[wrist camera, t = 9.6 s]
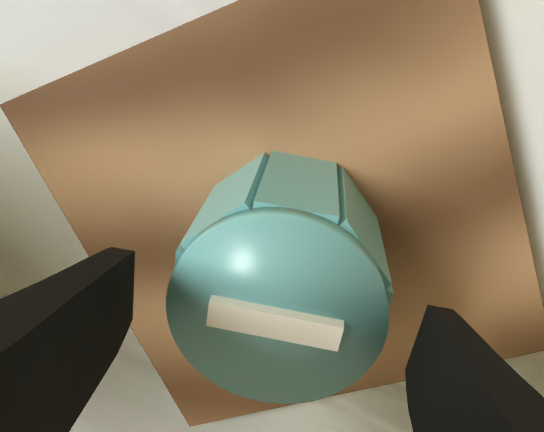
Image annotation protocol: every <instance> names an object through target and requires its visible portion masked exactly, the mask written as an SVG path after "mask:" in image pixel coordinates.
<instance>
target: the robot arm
mask: <svg viewBox="0 0 544 432" xmlns="http://www.w3.org/2000/svg"><path fill="white" fill-rule="evenodd" d="M134 270H135V251H131V250H126V249H121V248H115V247H109V248H107V249H105V250H102V251H100V252H98V253H96V254H94V255H92V256H90V257H88V258H86V259H84V260H82V261H80V262H78V263H76V264H75V265H73V266H71V267H69V268H67V269H65V270H62V271H60V272H58V273H56V274H54V275H52V276H50V277H48V278H46V279H44V280H42V281H40V282H38V283H35V284H33V285H31V286H29V287H26V288H24V289H22V290H20V291H17V292H15V293H13V294H11V295H8V296H6V297H4V298H1V299H0V432H69V431H70V429H71V428H72V426H73V425H74V423H75V421H76V420H77V418H78V417H79V415H80V413H81V412H82V410H83V409H84V407H85V405H86V404H87V402H88V401H89V399H90V397H91V396H92V394H93V393H94V391H95V389H96V388H97V386H98V384H99V383H100V381H101V380H102V378H103V376H104V375H105V373H106V372H107V370H108V368H109V367H110V365H111V363H112V362H113V360H114V358H115V357H116V355H117V353H118V351H119V349H120V347H121V345H122V342H123V340H124V338H125V336H126V334H127V331H128V329H129V327H130V324H131V322H132V320H133V298H134ZM405 377H406V391H407V401H408V409H409V414H410V419H411V423H412V428H413V432H544V397H543V396H542V395H540V394H539V393H538V392H537V391H536V390H535V389H534V388H533V387H532V386H530V385H529V384H528V383H527V382H526V381H525V380H524V379H523V378H522V377H521V376H520V375H519V374H518V373H517V372H516V371H514V370H513V369H512V368H511V367H510V366H509V365H508V364H507V363H506V362H505V361H504V360H503V359H502V358H501V357H500V356H499V355H498V354H497V353H496V352H495V351H494V350H493V349H492V348H491V347H490V346H489V345H488V343H487V342H486V341H485V340H484V339H483V338H482V337H481V336H480V335H479V334H478V333H477V332H476V331H475V330H474V329H473V328H472V327H471V326H470V325H469V324H468V323H467V322H466V321H465V320H464V319H463V318H462V317H461V316H460V315H459V314H458V313H457V312H455V311H454V310H453V309H449V308H443V307H438V306H432V305H427V308H426V311H425V313H424V316H423V319H422V322H421V325H420V328H419V331H418V334H417V336H416V339H415V342H414V345H413V348H412V351H411V354H410V357H409V360H408V362H407V365H406V368H405Z"/></svg>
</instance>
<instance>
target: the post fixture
mask: <svg viewBox="0 0 544 432" xmlns="http://www.w3.org/2000/svg"><path fill="white" fill-rule="evenodd" d="M0 107H1V108H2V110H3V112H4V113H5V115H6V117H7V118H8V120H9V122H10V124H11V125H12V127H13V129H14V130H15V132H16V134H17V135H18V137H19V139H20V140H21V142H22V144H23V145H24V147H25V149H26V151H27V152H28V154H29V156H30V157H31V159H32V161H33V162H34V164H35V166H36V167H37V169H38V171H39V173H40V174H41V176H42V178H43V179H44V181H45V183H46V184H47V186H48V188H49V189H50V191H51V193H52V195H53V196H54V198H55V200H56V201H57V203H58V205H59V206H60V208H61V210H62V211H63V213H64V215H65V216H66V218H67V220H68V222H69V223H70V225H71V227H72V228H73V230H74V232H75V233H76V235H77V237H78V238H79V240H80V242H81V244H82V245H83V247H84V249H85V250H86V252H87V254H88V255H89V257H90V256H92V255H94V254H96V253H98V252H100V251H102V250H105V249H107V248H109V247H115V248H121V249H126V250H131V251H135V270H134V298H133V320H132V322H131V324H130V326H131V328H132V330H133V331H134V333H135V335H136V336H137V338H138V340H139V342H140V343H141V345H142V347H143V348H144V350H145V352H146V353H147V355H148V357H149V358H150V360H151V362H152V364H153V365H154V367H155V369H156V370H157V372H158V374H159V375H160V377H161V379H162V380H163V382H164V384H165V385H166V387H167V389H168V391H169V392H170V394H171V396H172V397H173V399H174V401H175V402H176V404H177V406H178V407H179V409H180V411H181V413H182V414H183V416H184V418H185V419H186V421H187V423H188V424H189V426H194V425H199V424H204V423H208V422H213V421H218V420H222V419H227V418H232V417H236V416H241V415H246V414H250V413H255V412H260V411H264V410H269V409H274V408H278V407H283V406H288V405H292V404H277V403H267V402H260V401H256V400H252V399H248V398H244V397H242V396H239V395H236V394H233V393H231V392H229V391H227V390H225V389H223V388H221V387H219V386H218V385H216V384H214V383H213V382H211V381H210V380H208V379H207V378H206V377H204V376H203V375H202V374H200V373H199V372H198V371H197V370H196V369H195V368H194V367H193V366H192V365H191V364H190V363H189V362H188V360H187V359H186V358H185V357H184V355H183V354H182V353H181V351H180V349H179V348H178V346H177V345H176V343H175V340H174V338H173V336H172V334H171V331H170V328H169V325H168V321H167V314H166V294H167V288H168V284H169V281H170V278H171V275H172V273H173V271H174V267H175V255H176V250H177V248H178V246H179V245H180V243H181V241H182V240H183V238H184V236H185V235H186V233H187V231H188V229H189V228H190V226H191V224H192V223H193V221H194V219H195V218H196V216H197V214H198V213H199V211H200V209H201V208H202V206H203V204H204V203H205V201H206V199H207V198H208V196H209V194H210V192H211V191H212V189H213V188H214V186H215V185H217V184H218V183H220V182H221V181H223V180H224V179H226V178H227V177H228V176H230V175H231V174H233V173H234V172H236V171H237V170H239V169H240V168H242V167H243V166H245V165H246V164H248V163H249V162H251V161H252V160H254V159H255V158H257V157H258V156H260V155H261V154H262V153H264V152H265V153H266V154H267V156H268V157H270V154H271V151H277V152H282V153H288V154H293V155H299V156H304V157H309V158H315V159H320V160H325V161H331V162H336V163H337V170H338V169H339V168H341V167H342V166H343V168H344V169H345V171H346V172H347V174H348V175H349V176H350V178H351V179H352V181H353V182H354V184H355V185H356V187H357V188H358V190H359V191H360V193H361V194H362V195H363V197H364V198H365V200H366V201H367V203H368V204H369V206H370V207H371V209H372V210H373V211H374V213H375V214H376V216H377V219H378V223H379V228H380V232H381V237H382V241H383V245H384V250H385V254H386V259H387V263H388V268H389V272H390V277H391V281H392V288H393V292H394V293H393V296H392V299H391V302H390V306H389V329H388V334H387V338H386V341H385V344H384V346H383V349H382V351H381V353H380V355H379V356H378V358H377V360H376V361H375V363H374V364H373V365H372V366H371V368H370V369H369V370H368V371H367V372H366V373H365V374H364V375H363V376H362V377H361V378H360V379H359V380H357V381H356V382H355V383H353V384H352V385H350V386H349V387H347V388H345V389H344V390H342V391H340V392H338V393H336V394H333V395H331V396H334V395H339V394H344V393H349V392H353V391H358V390H363V389H367V388H372V387H377V386H381V385H386V384H391V383H395V382H400V381H405V380H406V377H405V368H406V365H407V362H408V360H409V357H410V354H411V351H412V348H413V345H414V342H415V339H416V336H417V334H418V331H419V328H420V325H421V322H422V319H423V316H424V313H425V311H426V308H427V305H432V306H438V307H443V308H449V309H453V310H454V311H455V312H457V313H458V314H459V315H460V316H461V317H462V318H463V319H464V320H465V321H466V322H467V323H468V324H469V325H470V326H471V327H472V328H473V329H474V330H475V331H476V332H477V333H478V334H479V335H480V336H481V337H482V338H483V339H484V340H485V341H486V342H487V343H488V345H489V346H490V347H491V348H492V349H493V350H494V351H495V352H496V353H497V354H498V355H499V356H500V357H501V358H502V359H507V358H512V357H517V356H521V355H526V354H531V353H535V352H540V351H544V309H543V304H542V299H541V294H540V289H539V285H538V280H537V275H536V270H535V266H534V261H533V256H532V251H531V247H530V242H529V237H528V232H527V228H526V223H525V218H524V213H523V209H522V204H521V199H520V194H519V190H518V185H517V180H516V175H515V171H514V166H513V161H512V156H511V152H510V147H509V142H508V137H507V133H506V128H505V123H504V118H503V114H502V109H501V104H500V99H499V94H498V90H497V85H496V80H495V75H494V71H493V66H492V61H491V56H490V52H489V47H488V42H487V37H486V33H485V28H484V23H483V18H482V14H481V9H480V4H479V0H238V1H236V2H234V3H231V4H229V5H227V6H225V7H222V8H220V9H218V10H215V11H213V12H211V13H209V14H206V15H204V16H202V17H199V18H197V19H195V20H193V21H190V22H188V23H186V24H183V25H181V26H179V27H177V28H174V29H172V30H170V31H167V32H165V33H163V34H161V35H158V36H156V37H154V38H151V39H149V40H147V41H145V42H142V43H140V44H138V45H135V46H133V47H131V48H129V49H126V50H124V51H122V52H119V53H117V54H115V55H113V56H110V57H108V58H106V59H103V60H101V61H99V62H97V63H94V64H92V65H90V66H87V67H85V68H83V69H81V70H78V71H76V72H74V73H71V74H69V75H67V76H65V77H62V78H60V79H58V80H55V81H53V82H51V83H49V84H46V85H44V86H42V87H39V88H37V89H35V90H32V91H30V92H28V93H26V94H23V95H21V96H19V97H16V98H14V99H12V100H10V101H7V102H5V103H3V104H0ZM328 397H330V396H328ZM294 404H297V403H294Z"/></svg>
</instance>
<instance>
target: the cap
mask: <svg viewBox="0 0 544 432" xmlns="http://www.w3.org/2000/svg"><path fill="white" fill-rule="evenodd" d="M393 293H394V292H393V288H392V281H391V277H390V272H389V268H388V263H387V259H386V254H385V250H384V245H383V241H382V237H381V232H380V228H379V223H378V219H377V216H376V214H375V213H374V211H373V210H372V209H371V207H370V206H369V204H368V203H367V201H366V200H365V198H364V197H363V195H362V194H361V193H360V191H359V190H358V188H357V187H356V185H355V184H354V182H353V181H352V179H351V178H350V176H349V175H348V174H347V172H346V171H345V169H344V168H343V166H342V167H341V168H339V169H338V170H337V163H336V162H331V161H325V160H320V159H315V158H309V157H304V156H299V155H293V154H288V153H282V152H277V151H271V154H270V157H268V156H267V154H266V153H265V152H264V153H262V154H261V155H260V156H258V157H257V158H255V159H254V160H252V161H251V162H249V163H248V164H246V165H245V166H243V167H242V168H240V169H239V170H237V171H236V172H234V173H233V174H231V175H230V176H228V177H227V178H226V179H224V180H223V181H221V182H220V183H218V184H217V185H215V186H214V188H213V189H212V191H211V192H210V194H209V196H208V198H207V199H206V201H205V203H204V204H203V206H202V208H201V209H200V211H199V213H198V214H197V216H196V218H195V219H194V221H193V223H192V224H191V226H190V228H189V229H188V231H187V233H186V235H185V236H184V238H183V240H182V241H181V243H180V245H179V246H178V248H177V250H176V255H175V267H174V271H173V273H172V275H171V278H170V281H169V284H168V288H167V294H166V314H167V321H168V325H169V328H170V331H171V334H172V336H173V338H174V340H175V343H176V345H177V346H178V348H179V349H180V351H181V353H182V354H183V355H184V357H185V358H186V359H187V360H188V362H189V363H190V364H191V365H192V366H193V367H194V368H195V369H196V370H197V371H198V372H199V373H200V374H202V375H203V376H204V377H206V378H207V379H208V380H210V381H211V382H213V383H214V384H216V385H218V386H219V387H221V388H223V389H225V390H227V391H229V392H231V393H233V394H236V395H239V396H242V397H244V398H248V399H252V400H256V401H260V402H267V403H277V404H294V403H304V402H310V401H315V400H318V399H322V398H325V397H328V396H331V395H333V394H336V393H338V392H340V391H342V390H344V389H345V388H347V387H349V386H350V385H352V384H353V383H355V382H356V381H357V380H359V379H360V378H361V377H362V376H363V375H364V374H365V373H366V372H367V371H368V370H369V369H370V368H371V366H372V365H373V364H374V363H375V361H376V360H377V358H378V356H379V355H380V353H381V351H382V349H383V346H384V344H385V341H386V338H387V334H388V329H389V306H390V302H391V299H392V296H393Z"/></svg>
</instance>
